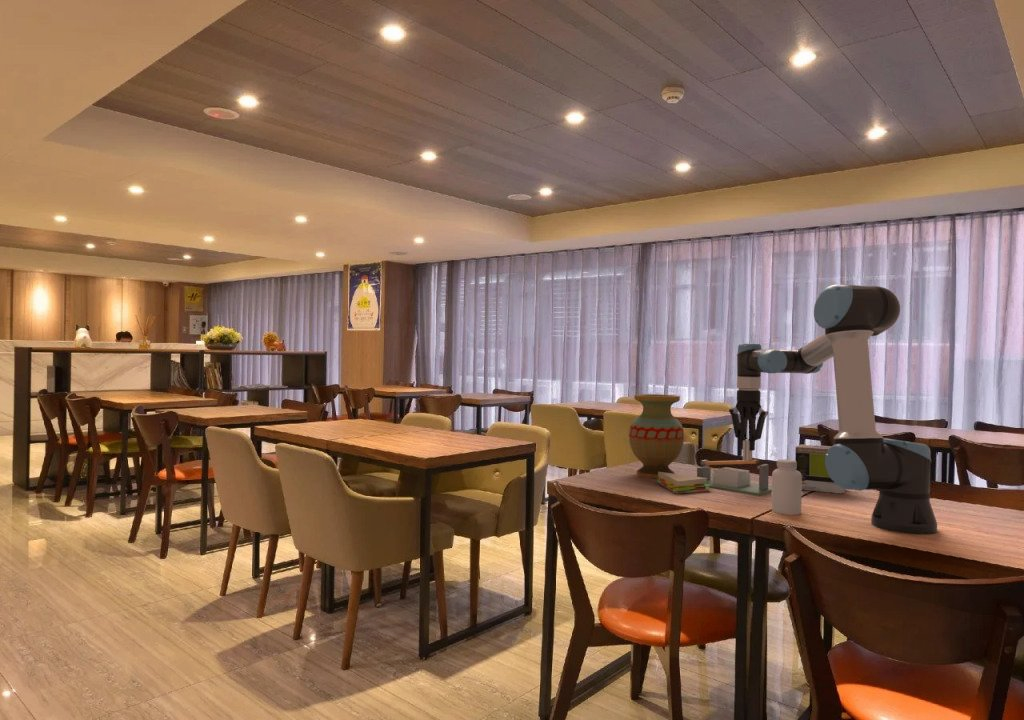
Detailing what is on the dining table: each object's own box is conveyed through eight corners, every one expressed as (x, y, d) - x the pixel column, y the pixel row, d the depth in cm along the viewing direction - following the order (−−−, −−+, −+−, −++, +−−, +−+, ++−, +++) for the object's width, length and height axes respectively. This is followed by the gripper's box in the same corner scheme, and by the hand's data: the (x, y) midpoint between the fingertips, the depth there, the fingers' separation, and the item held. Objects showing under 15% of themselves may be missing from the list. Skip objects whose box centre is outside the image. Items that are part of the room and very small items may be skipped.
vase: (621, 472, 260) (623, 393, 260) (672, 472, 263) (673, 394, 262) (637, 482, 241) (638, 396, 241) (691, 481, 243) (693, 397, 243)
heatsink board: (681, 484, 238) (681, 457, 238) (705, 479, 249) (705, 453, 249) (757, 497, 218) (758, 468, 218) (780, 490, 229) (780, 463, 229)
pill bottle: (766, 512, 196) (767, 460, 196) (777, 508, 202) (778, 457, 202) (794, 517, 190) (795, 463, 190) (805, 513, 196) (806, 460, 196)
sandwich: (684, 484, 240) (684, 470, 240) (716, 495, 221) (717, 480, 221) (645, 486, 235) (645, 471, 235) (674, 497, 217) (674, 482, 217)
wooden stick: (698, 467, 240) (698, 460, 240) (704, 466, 243) (703, 459, 243) (755, 465, 225) (754, 458, 225) (760, 464, 228) (759, 457, 228)
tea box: (846, 490, 233) (847, 446, 232) (843, 495, 224) (844, 449, 224) (799, 485, 241) (800, 443, 241) (794, 489, 232) (795, 446, 232)
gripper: (773, 390, 227) (772, 461, 227) (735, 388, 237) (734, 456, 237) (762, 390, 222) (761, 463, 222) (724, 388, 231) (723, 458, 232)
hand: (747, 459), depth 229 cm, fingers closed, pressing on wooden stick
